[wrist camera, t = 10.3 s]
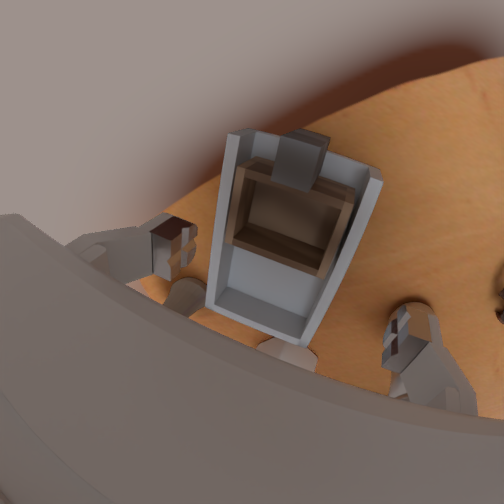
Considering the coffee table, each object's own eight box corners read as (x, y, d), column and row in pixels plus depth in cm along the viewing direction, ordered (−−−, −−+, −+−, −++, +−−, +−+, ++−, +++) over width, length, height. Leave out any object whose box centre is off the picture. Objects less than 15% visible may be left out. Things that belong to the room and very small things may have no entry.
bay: (314, 322, 37) (305, 348, 33) (221, 285, 40) (204, 306, 36) (379, 169, 24) (383, 182, 20) (248, 128, 27) (227, 133, 23)
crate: (330, 254, 30) (319, 293, 24) (243, 222, 32) (214, 252, 26) (367, 150, 23) (370, 165, 17) (263, 118, 25) (233, 124, 19)
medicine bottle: (258, 343, 43) (227, 402, 34) (290, 329, 39) (262, 396, 29) (286, 368, 44) (262, 427, 35) (319, 357, 40) (299, 423, 30)
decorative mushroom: (181, 310, 46) (129, 372, 34) (159, 268, 43) (96, 327, 31) (229, 311, 42) (179, 387, 30) (208, 263, 38) (142, 337, 26)
